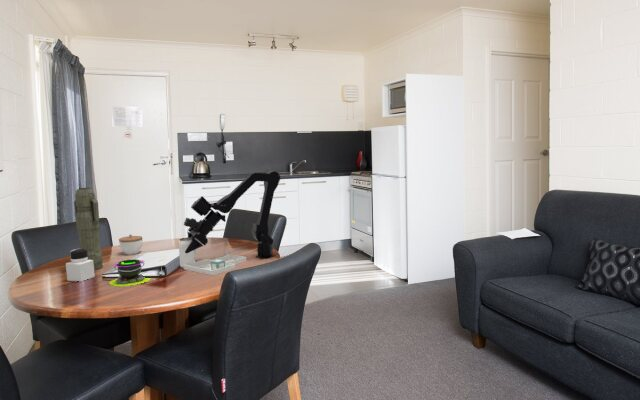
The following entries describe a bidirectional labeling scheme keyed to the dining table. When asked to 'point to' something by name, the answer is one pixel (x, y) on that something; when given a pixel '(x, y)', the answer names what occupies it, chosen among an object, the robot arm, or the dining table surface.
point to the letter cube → (217, 264)
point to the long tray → (208, 267)
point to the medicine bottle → (79, 266)
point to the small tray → (232, 259)
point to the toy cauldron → (129, 273)
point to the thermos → (88, 224)
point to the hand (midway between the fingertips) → (184, 250)
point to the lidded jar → (131, 244)
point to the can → (183, 256)
